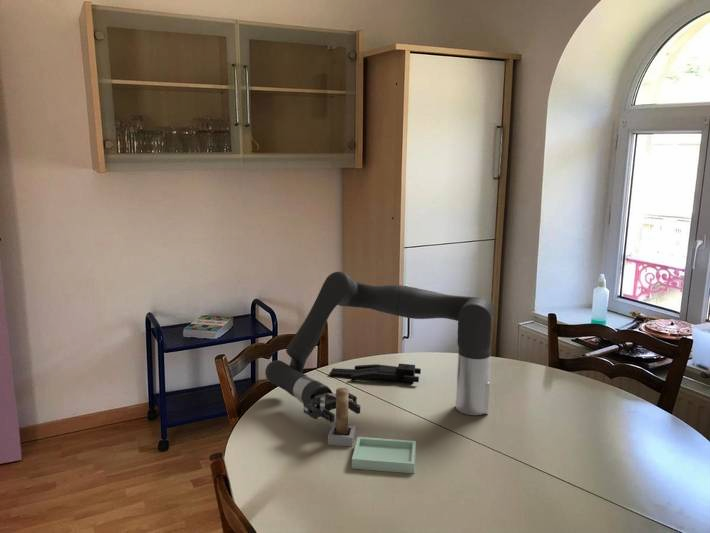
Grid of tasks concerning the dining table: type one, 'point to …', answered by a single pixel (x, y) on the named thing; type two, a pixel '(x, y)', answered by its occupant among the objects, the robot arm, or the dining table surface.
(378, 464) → the tray
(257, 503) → the dining table surface
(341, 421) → the dowel
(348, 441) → the holder
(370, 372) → the toy
